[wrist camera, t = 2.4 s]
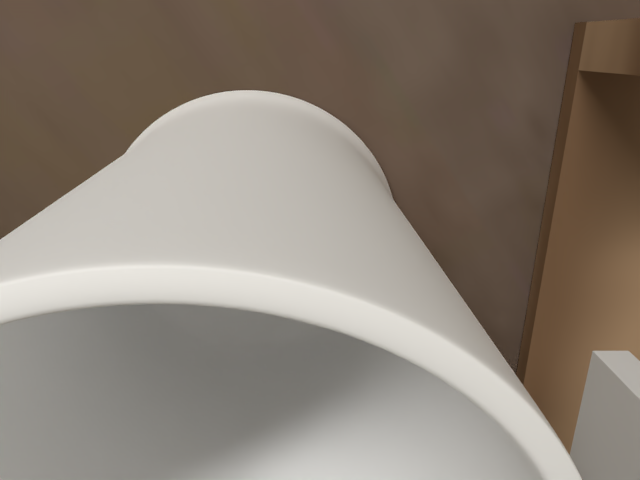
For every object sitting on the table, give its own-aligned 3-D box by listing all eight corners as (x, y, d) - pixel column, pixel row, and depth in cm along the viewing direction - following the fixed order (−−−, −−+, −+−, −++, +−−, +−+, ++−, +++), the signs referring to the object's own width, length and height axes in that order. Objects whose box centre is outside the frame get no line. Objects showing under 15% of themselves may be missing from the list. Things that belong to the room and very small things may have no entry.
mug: (414, 421, 19) (604, 974, 8) (169, 459, 19) (0, 1075, 8) (380, 68, 15) (678, 144, 4) (69, 114, 15) (-613, 338, 4)
